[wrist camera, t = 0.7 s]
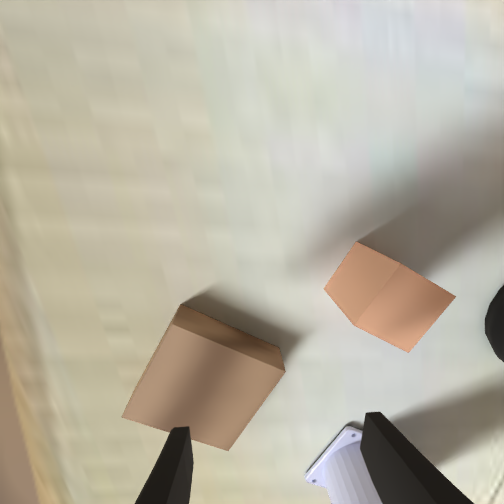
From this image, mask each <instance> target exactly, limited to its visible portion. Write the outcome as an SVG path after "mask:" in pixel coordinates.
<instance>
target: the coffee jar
mask: <svg viewBox="0 0 504 504" xmlns="http://www.w3.org/2000/svg"><path fill="white" fill-rule="evenodd" d="M485 334H486V336H487V338H488V340H489V342H490V344H491V346H492V348H493V350H494V352H495V354H496V355H497V357H498V358H499V359H500V360H502V361H503V362H504V286H503V287H502V288H501V289H500V290H499V291H498V293H497V294H496V296H495V297H494V299H493V301H492V302H491V304H490V306H489V309H488V312H487V315H486V318H485Z"/></svg>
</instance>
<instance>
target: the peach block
mask: <svg viewBox="0 0 504 504" xmlns="http://www.w3.org/2000/svg"><path fill="white" fill-rule="evenodd" d="M324 290H325V291H326V292H327V294H328V295H329V296H330V297H331V298H332V300H333V301H334V302H335V303H336V304H337V306H338V307H339V308H340V309H341V310H342V312H343V313H344V314H345V315H346V316H347V318H348V319H349V320H350V321H351V322H352V324H353V325H354V326H356V327H358V328H360V329H362V330H364V331H366V332H368V333H370V334H372V335H374V336H376V337H378V338H380V339H382V340H384V341H386V342H388V343H390V344H392V345H394V346H396V347H398V348H400V349H402V350H404V351H406V352H408V353H409V352H410V351H411V349H412V348H413V347H414V346H415V345H416V343H417V342H418V341H419V340H420V339H421V338H422V336H423V335H424V334H425V333H426V332H427V330H428V329H429V328H430V327H431V326H432V325H433V323H434V322H435V321H436V320H437V319H438V317H439V316H440V315H441V314H442V313H443V312H444V310H445V309H446V308H447V307H448V306H449V304H450V303H451V302H452V301H453V300H454V299H455V297H456V296H454V295H453V294H451V293H449V292H448V291H446V290H444V289H443V288H441V287H439V286H438V285H436V284H434V283H433V282H431V281H429V280H428V279H426V278H424V277H423V276H421V275H419V274H418V273H416V272H414V271H413V270H411V269H409V268H408V267H406V266H404V265H403V264H401V263H399V262H397V261H395V260H393V259H391V258H389V257H387V256H385V255H383V254H381V253H379V252H377V251H375V250H373V249H371V248H369V247H367V246H365V245H363V244H361V243H358V242H355V244H354V245H353V247H352V248H351V250H350V251H349V253H348V254H347V256H346V257H345V258H344V260H343V261H342V263H341V264H340V266H339V267H338V269H337V270H336V271H335V273H334V274H333V276H332V277H331V279H330V280H329V282H328V283H327V285H326V286H325V287H324Z"/></svg>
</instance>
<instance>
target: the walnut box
mask: <svg viewBox="0 0 504 504" xmlns="http://www.w3.org/2000/svg"><path fill="white" fill-rule="evenodd" d="M285 372H286V371H285V367H284V364H283V360H282V356H281V353H280V349H279V347H276V346H274V345H272V344H270V343H267V342H265V341H263V340H261V339H258V338H256V337H254V336H252V335H249V334H247V333H245V332H243V331H240V330H238V329H236V328H233V327H231V326H229V325H227V324H224V323H222V322H220V321H218V320H215V319H213V318H211V317H209V316H206V315H204V314H202V313H200V312H197V311H195V310H193V309H191V308H188V307H186V306H184V305H182V304H180V306H179V308H178V310H177V312H176V313H175V315H174V317H173V319H172V321H171V323H170V325H169V326H168V328H167V330H166V332H165V334H164V336H163V337H162V339H161V341H160V343H159V345H158V347H157V349H156V350H155V352H154V354H153V356H152V358H151V360H150V362H149V363H148V365H147V367H146V369H145V371H144V373H143V375H142V376H141V378H140V380H139V382H138V384H137V386H136V387H135V390H134V392H133V394H132V396H131V398H130V400H129V402H128V404H127V406H126V409H125V411H124V413H123V415H122V418H125V419H129V420H132V421H135V422H138V423H141V424H144V425H148V426H151V427H154V428H157V429H160V430H163V431H166V432H170V431H171V429H173V428H174V427H186V426H189V427H190V436H191V439H192V440H195V441H198V442H201V443H204V444H208V445H211V446H214V447H217V448H220V449H223V450H226V451H229V449H230V448H231V447H232V445H233V444H234V442H235V441H236V440H237V438H238V437H239V436H240V434H241V433H242V431H243V430H244V429H245V427H246V426H247V424H248V423H249V422H250V420H251V419H252V418H253V416H254V415H255V413H256V412H257V411H258V409H259V408H260V406H261V405H262V404H263V402H264V401H265V400H266V398H267V397H268V395H269V394H270V393H271V391H272V390H273V388H274V387H275V386H276V384H277V383H278V382H279V380H280V379H281V377H282V376H283V375H284V373H285Z"/></svg>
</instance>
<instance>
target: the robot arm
mask: <svg viewBox="0 0 504 504" xmlns="http://www.w3.org/2000/svg"><path fill="white" fill-rule="evenodd" d="M193 463H194V462H193V453H192V445H191V436H190V427H189V426H186V427H174V428H173V429H171V431H170V434H169V436H168V438H167V441H166V443H165V445H164V447H163V449H162V451H161V454H160V456H159V458H158V460H157V462H156V464H155V466H154V468H153V470H152V472H151V474H150V476H149V478H148V479H147V481H146V483H145V485H144V487H143V489H142V491H141V493H140V495H139V496H138V498H137V500H136V502H135V504H189V500H190V491H191V483H192V473H193ZM305 481H306V482H308V483H311V484H314V485H317V486H321V487H324V488H327V491H328V494H329V498H330V501H331V504H474V503H473V502H472V501H471V500H469V499H468V498H467V497H466V496H465V495H464V494H463V493H462V492H461V491H460V490H459V489H458V488H456V487H455V486H454V485H453V484H452V483H451V482H450V481H449V480H448V479H447V478H446V477H445V476H444V475H443V474H442V473H441V472H440V471H439V470H438V469H437V468H436V467H435V466H434V465H432V464H431V463H430V462H429V461H428V460H427V459H426V458H425V457H424V456H423V455H422V454H421V453H420V452H419V451H418V450H417V449H416V448H415V447H414V446H413V445H412V444H411V443H410V442H409V441H408V440H407V439H406V438H405V437H404V436H403V435H402V434H401V432H400V431H399V430H398V429H397V428H396V427H395V426H394V425H393V424H392V423H391V422H390V421H389V420H388V419H387V418H386V417H385V416H384V415H383V414H382V413H381V412H369V413H366V415H365V421H364V426H363V431H361V430H359V429H356V428H354V427H351V426H347V427H345V428H344V429H343V431H342V432H341V433H340V434H339V435H338V436H337V438H336V439H335V440H334V441H333V442H332V444H331V445H330V446H329V447H328V448H327V449H326V451H325V452H324V453H323V454H322V455H321V457H320V458H319V459H318V460H317V461H316V462H315V464H314V465H313V466H312V467H311V468H310V469H309V471H308V472H307V473H306V474H305Z"/></svg>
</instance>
